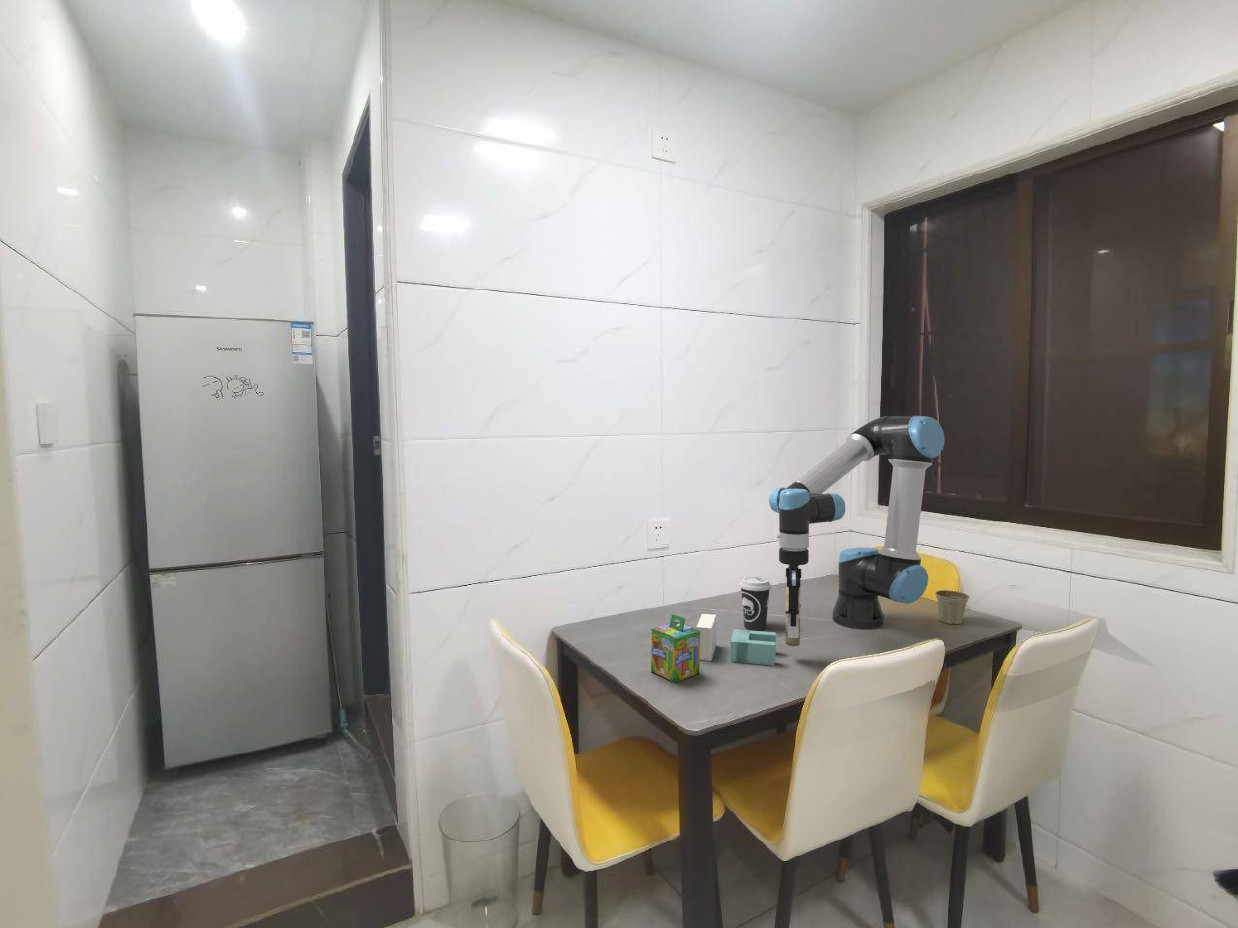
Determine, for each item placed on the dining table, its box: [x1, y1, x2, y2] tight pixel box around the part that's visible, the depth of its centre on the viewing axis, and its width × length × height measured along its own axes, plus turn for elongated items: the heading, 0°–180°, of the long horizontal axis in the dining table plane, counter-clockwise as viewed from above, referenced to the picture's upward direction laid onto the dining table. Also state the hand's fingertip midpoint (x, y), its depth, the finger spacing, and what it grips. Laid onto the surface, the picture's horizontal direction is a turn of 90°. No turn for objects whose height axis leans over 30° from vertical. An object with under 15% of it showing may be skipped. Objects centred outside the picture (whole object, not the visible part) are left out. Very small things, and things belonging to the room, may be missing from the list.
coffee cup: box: [739, 575, 772, 632], centre depth 187 cm, size 10×10×15 cm
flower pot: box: [934, 589, 970, 625], centre depth 190 cm, size 9×9×9 cm
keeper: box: [730, 628, 777, 666], centre depth 165 cm, size 12×9×6 cm
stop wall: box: [695, 613, 717, 662], centre depth 168 cm, size 4×11×9 cm, turn 165°
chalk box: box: [650, 613, 701, 684], centre depth 155 cm, size 9×9×15 cm
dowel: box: [785, 586, 801, 647], centre depth 162 cm, size 4×4×15 cm
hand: (792, 634), depth 162 cm, fingers closed on dowel, 3 cm apart
